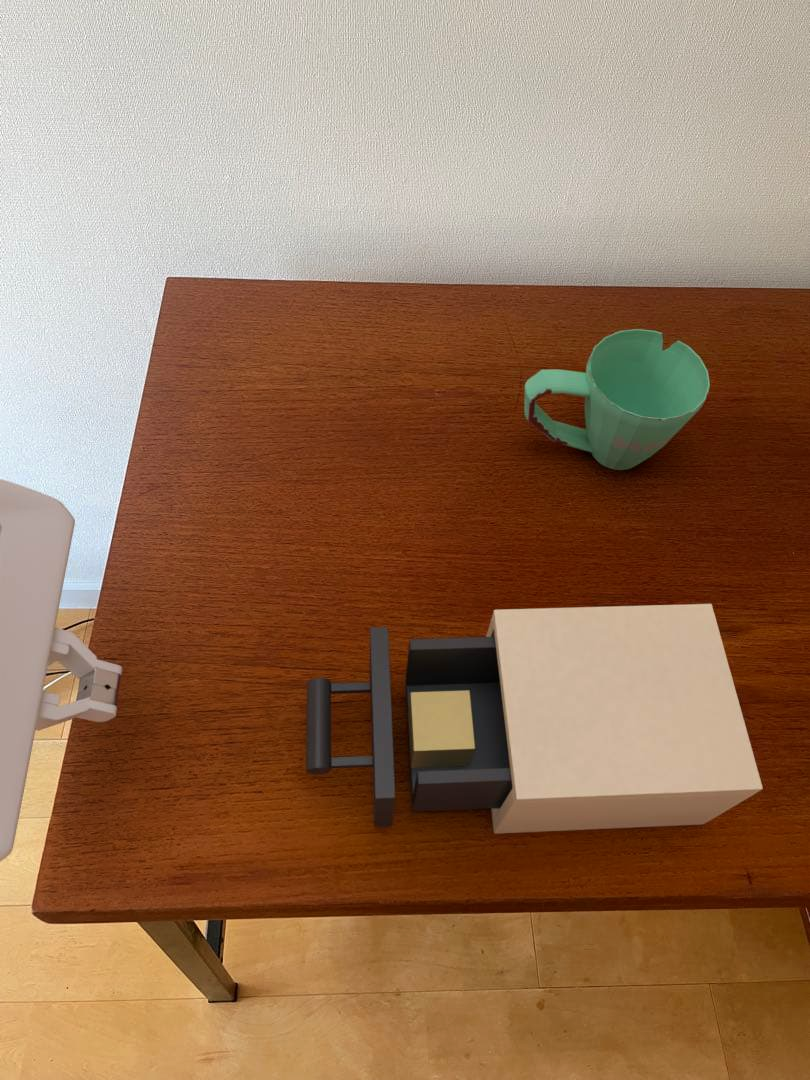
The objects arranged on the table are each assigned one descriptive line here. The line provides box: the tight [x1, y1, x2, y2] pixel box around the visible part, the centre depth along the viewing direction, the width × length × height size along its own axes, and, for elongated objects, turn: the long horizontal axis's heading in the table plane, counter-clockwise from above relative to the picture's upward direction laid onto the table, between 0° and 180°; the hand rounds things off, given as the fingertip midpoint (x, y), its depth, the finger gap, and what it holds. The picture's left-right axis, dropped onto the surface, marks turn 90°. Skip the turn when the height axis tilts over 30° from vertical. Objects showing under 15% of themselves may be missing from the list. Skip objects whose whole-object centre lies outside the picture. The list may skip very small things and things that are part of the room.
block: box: [407, 690, 475, 768], centre depth 54 cm, size 4×4×4 cm
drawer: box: [305, 626, 513, 828], centre depth 54 cm, size 18×11×8 cm, turn 93°
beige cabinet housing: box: [485, 603, 764, 835], centre depth 54 cm, size 15×12×10 cm
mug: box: [523, 328, 711, 471], centre depth 68 cm, size 15×10×10 cm
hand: (114, 695), depth 46 cm, fingers closed
